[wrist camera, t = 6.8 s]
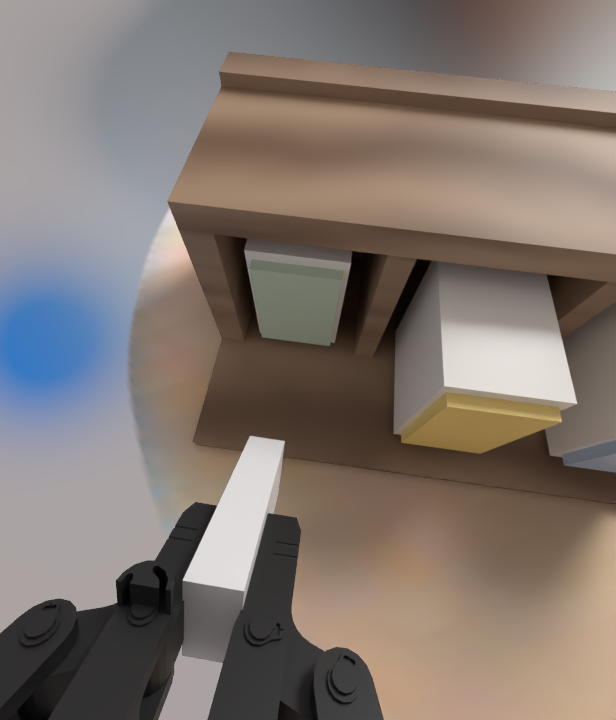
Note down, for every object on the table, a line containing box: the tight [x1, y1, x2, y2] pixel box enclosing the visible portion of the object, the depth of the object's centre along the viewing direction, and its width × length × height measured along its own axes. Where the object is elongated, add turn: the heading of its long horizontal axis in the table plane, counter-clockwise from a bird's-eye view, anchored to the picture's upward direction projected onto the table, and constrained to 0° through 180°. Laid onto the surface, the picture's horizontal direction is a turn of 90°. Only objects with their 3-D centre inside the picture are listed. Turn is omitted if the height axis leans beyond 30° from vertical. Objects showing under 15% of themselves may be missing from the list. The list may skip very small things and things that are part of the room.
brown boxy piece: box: [168, 52, 616, 504], centre depth 18 cm, size 18×28×12 cm, turn 82°
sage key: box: [244, 238, 352, 346], centre depth 20 cm, size 8×5×8 cm, turn 172°
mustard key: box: [393, 261, 577, 454], centre depth 17 cm, size 8×5×8 cm, turn 172°
